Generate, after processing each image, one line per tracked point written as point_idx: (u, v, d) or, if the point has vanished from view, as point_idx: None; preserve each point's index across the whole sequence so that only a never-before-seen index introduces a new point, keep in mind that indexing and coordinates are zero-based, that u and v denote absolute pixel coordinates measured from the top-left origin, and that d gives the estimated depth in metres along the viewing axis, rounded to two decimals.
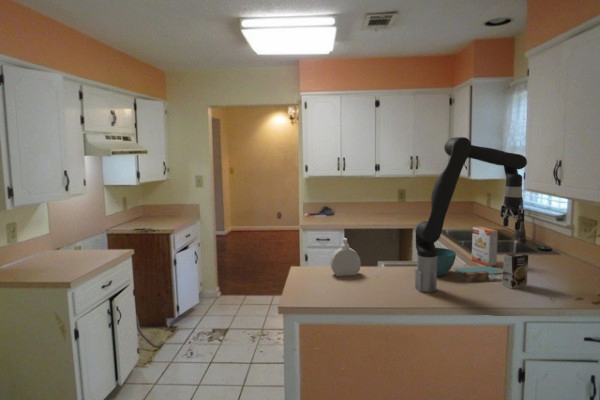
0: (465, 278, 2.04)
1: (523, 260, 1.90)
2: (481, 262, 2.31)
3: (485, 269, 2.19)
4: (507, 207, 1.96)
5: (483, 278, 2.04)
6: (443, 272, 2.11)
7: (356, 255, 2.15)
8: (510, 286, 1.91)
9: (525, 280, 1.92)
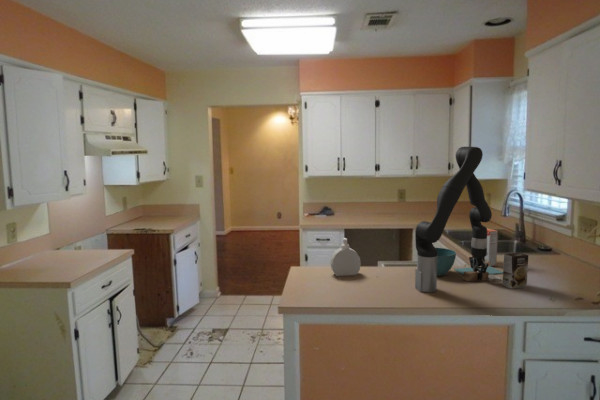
0: (465, 277, 2.04)
1: (523, 260, 1.90)
2: None
3: None
4: (473, 256, 2.06)
5: (483, 278, 2.04)
6: (443, 272, 2.11)
7: (356, 255, 2.15)
8: (510, 286, 1.91)
9: (525, 280, 1.92)
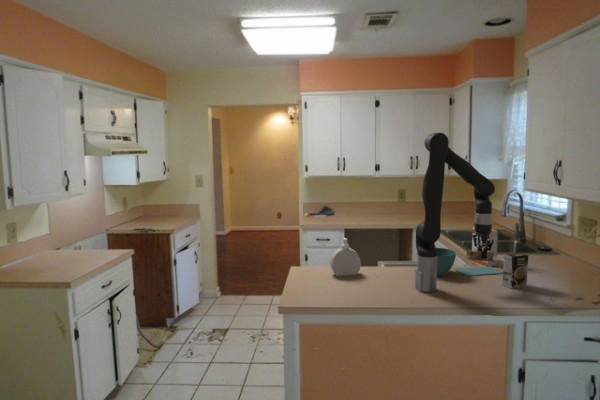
0: (468, 256, 1.89)
1: (523, 260, 1.90)
2: (481, 262, 2.31)
3: (485, 269, 2.19)
4: (477, 233, 1.91)
5: (487, 258, 1.89)
6: (443, 272, 2.11)
7: (356, 255, 2.15)
8: (510, 286, 1.91)
9: (525, 280, 1.92)
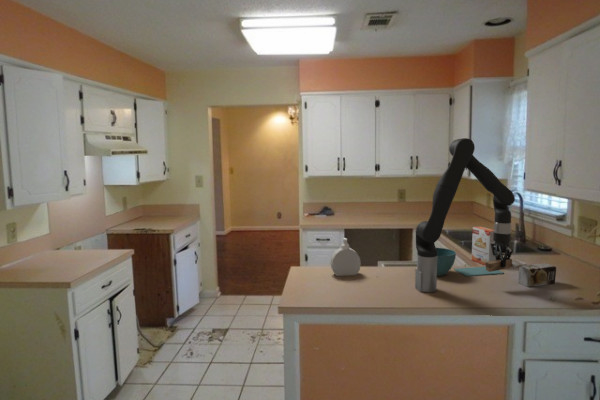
0: (487, 268, 1.91)
1: (551, 278, 1.95)
2: (481, 262, 2.31)
3: (485, 269, 2.19)
4: (496, 242, 1.93)
5: (507, 266, 1.91)
6: (443, 272, 2.11)
7: (356, 255, 2.15)
8: (528, 268, 1.93)
9: (533, 284, 1.93)
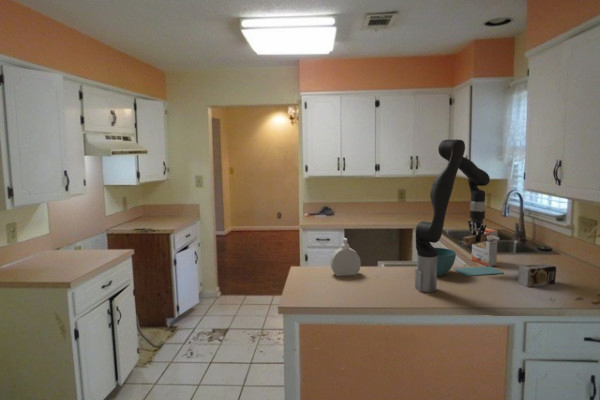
0: (465, 242, 2.14)
1: (551, 278, 1.95)
2: (481, 262, 2.31)
3: (485, 269, 2.19)
4: (472, 219, 2.16)
5: (482, 240, 2.14)
6: (443, 272, 2.11)
7: (356, 255, 2.15)
8: (528, 268, 1.93)
9: (533, 284, 1.93)
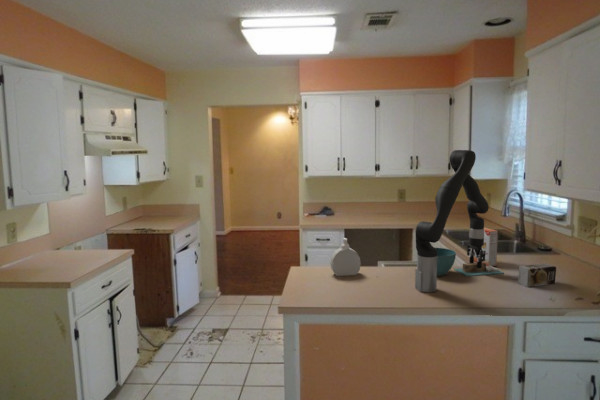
0: (464, 269, 2.16)
1: (551, 278, 1.95)
2: None
3: None
4: (471, 246, 2.18)
5: (481, 269, 2.16)
6: (443, 272, 2.11)
7: (356, 255, 2.15)
8: (528, 268, 1.93)
9: (533, 284, 1.93)
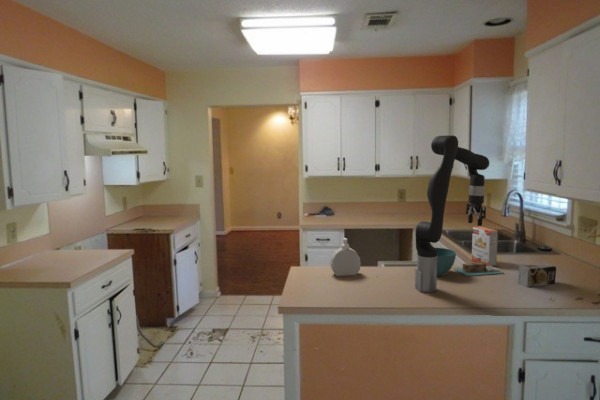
0: (464, 269, 2.16)
1: (551, 278, 1.95)
2: (481, 262, 2.31)
3: None
4: (471, 205, 2.12)
5: (481, 269, 2.16)
6: (443, 272, 2.11)
7: (356, 255, 2.15)
8: (528, 268, 1.93)
9: (533, 284, 1.93)
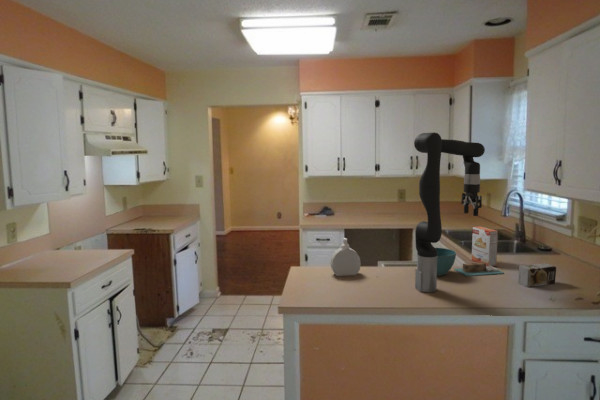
0: (464, 269, 2.16)
1: (551, 278, 1.95)
2: (481, 262, 2.31)
3: None
4: (467, 194, 2.03)
5: (481, 269, 2.16)
6: (443, 272, 2.11)
7: (356, 255, 2.15)
8: (528, 268, 1.93)
9: (533, 284, 1.93)
